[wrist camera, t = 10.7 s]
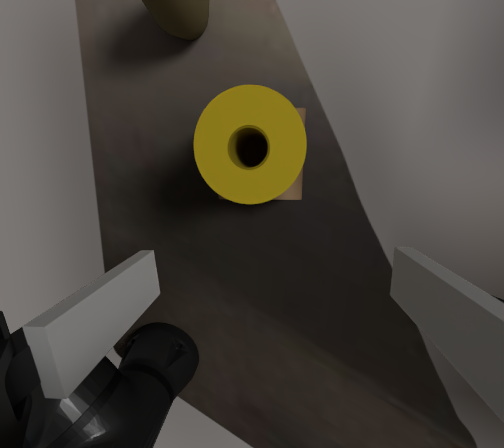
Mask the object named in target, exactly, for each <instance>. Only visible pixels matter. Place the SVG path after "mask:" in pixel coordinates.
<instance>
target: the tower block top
mask: <svg viewBox="0 0 504 448" xmlns="http://www.w3.org/2000/svg"><path fill="white" fill-rule="evenodd" d="M295 109H296V110H297V112H298V114H299V115H300V118H301V120H302V122H303V125H304V129H305V109H306V108H295ZM267 152H268V143H267V142H266V141H265V140H263V139H254V140H252V141H250V142H249V143H248V144H247V145H246V147H245V151H244V155H245V158H246V160H247V162H248V163H249V164H251V165H252V166H257V165H259V164H260V163H261V162H262V161H263V160H264V159H265V157H266V155H267ZM302 174H303V166H302V169H301V171H300V173H299V175H298V176H297V178H296V180H295V181H294V182H293V184H292V185H291V186H290V187H289V188H288V189H287V190H286V191H285V192H283V193H282V194H281V195H279V196H277V197H276V198H274V199H272V200H301V196H302ZM219 199H226V198H224V197H222V196H221V195H219Z"/></svg>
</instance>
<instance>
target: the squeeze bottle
mask: <svg viewBox="0 0 504 448" xmlns="http://www.w3.org/2000/svg"><path fill="white" fill-rule="evenodd" d="M142 1H143V3H144V4H145V6H146V7H147V9H148V10H149V12H150V13H151V15H152V16H153V18H154V19H155V21H156V22H157V24H158V25H159V27H160V28H162V29H163V30H164V31H165V32H167V33H168V34H169V35H173V36H176V37H179V38H182V39H186V40H192V39H196V38H198V37H199V36H200V35H202V34H203V32H204V30H205V29H206V27H207V23H208V17H209V0H142Z"/></svg>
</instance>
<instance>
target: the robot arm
mask: <svg viewBox="0 0 504 448" xmlns="http://www.w3.org/2000/svg"><path fill="white" fill-rule="evenodd" d="M159 294H160V288H159V282H158V276H157V269H156V263H155V257H154V250H144V251H139V252H138V253H136V254H135V255H133V256H132V257H130V258H128V259H127V260H125V261H124V262H122V263H121V264H119V265H117V266H116V267H114V268H113V269H111V270H110V271H108V272H107V273H105V274H103V275H102V276H100V277H99V278H97V279H96V280H94V281H93V282H91V283H89V284H88V285H86V286H85V287H83V288H81V289H80V290H78V291H77V292H75V293H74V294H72V295H71V296H69V297H67V298H66V299H65V300H63V301H61V302H60V303H58V304H56V305H55V306H53V307H52V308H50V309H49V310H47V311H46V312H44V313H42V314H41V315H40V316H38V317H36V318H34V319H33V320H31V321H30V322H28V323H27V324H25V325H24V326H22V327H21V328H20V329H18V330H16V331H15V332H13V333H12V334H10V332H9V329H8V326H7V323H6V320H5V317H4V314H3V312H2V311H0V448H153V446H154V444H155V442H156V439H157V437H158V435H159V432H160V430H161V428H162V426H163V423H164V421H165V419H166V416H167V414H168V412H169V409H170V407H171V405H172V403H173V400H174V399H175V398H176V397H177V396H178V395H179V393H180V392H181V391H182V390H183V389H184V387H185V386H186V385H187V384H188V383H189V382H190V381H191V379H192V378H193V376H194V374H195V371H196V369H197V366H198V363H199V353H198V349H197V347H196V345H195V343H194V341H193V340H192V339H191V338H190V336H189V335H187V334H186V333H185V332H184V331H182V330H181V329H179V328H177V327H175V326H173V325H170V324H165V323H152V324H148V325H145V326H143V327H142V328H140V329H139V330H138V331H137V332H136V333H135V334H134V336H133V337H132V338H131V339H130V341H129V342H128V344H127V347H126V349H125V352H124V355H123V357H122V360H121V363H120V365H119V368H118V369H117V368H116V366H115V365H114V364H113V363H112V362H111V361H110V360H109V359H108V358H107V357H106V356H105V355H106V354H107V353H108V352H109V351H110V349H111V348H112V347H113V346H114V345H115V344H116V343H117V342H118V340H119V339H120V338H121V337H122V336H123V335H124V334H125V333H126V331H127V330H128V329H129V328H130V327H131V326H132V325H133V324H134V322H135V321H136V320H137V319H138V318H139V317H140V316H141V315H142V314H143V312H144V311H145V310H146V309H147V308H148V307H149V306H150V305H151V303H152V302H153V301H154V300H155V299H156V298H157V297H158V296H159ZM390 295H391V297H392V298H393V299H394V300H395V301H396V302H397V303H398V304H399V306H400V307H401V308H402V309H403V310H404V311H405V312H406V313H407V315H408V316H409V317H410V318H411V319H412V320H413V321H414V323H415V324H416V325H417V326H418V327H419V328H420V329H421V330H422V332H424V334H425V335H426V336H427V337H428V338H429V339H430V340H431V342H432V343H433V344H434V345H435V346H436V347H437V348H438V350H439V351H440V352H441V353H442V354H443V355H444V356H445V357H446V358H447V360H448V361H449V362H450V363H451V364H452V365H453V366H454V368H455V369H456V370H457V371H458V372H459V373H460V374H461V375H462V377H463V378H464V379H465V380H466V381H467V382H468V383H469V385H470V386H471V387H472V388H473V389H474V390H475V391H476V392H477V394H478V395H479V396H480V397H481V398H482V399H483V400H484V402H485V403H486V404H487V405H488V406H489V407H490V408H491V409H492V410H493V412H494V413H495V414H496V415H497V416H498V417H499V418H500V420H501V421H502V422H503V423H504V300H502V299H500V298H497V297H495V296H492V295H490V294H488V293H486V292H485V291H483V290H481V289H480V288H478V287H476V286H475V285H473V284H471V283H470V282H468V281H466V280H465V279H463V278H461V277H460V276H458V275H456V274H455V273H453V272H451V271H450V270H448V269H447V268H445V267H443V266H442V265H440V264H438V263H437V262H435V261H433V260H432V259H430V258H428V257H426V256H425V255H423V254H422V253H420V252H418V251H417V250H415V249H413V248H412V247H395V252H394V261H393V271H392V281H391V291H390Z"/></svg>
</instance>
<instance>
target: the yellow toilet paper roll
mask: <svg viewBox="0 0 504 448" xmlns="http://www.w3.org/2000/svg"><path fill="white" fill-rule="evenodd" d="M254 139H263V140H265V141H266V142H267V143H268V152H267V155H266V157H265V159H264V160H263V161H262V162H261V163H260V164H259V165H257V166H252V165H251V164H249V163H248V162H247V160H246V158H245V155H244V151H245V147H246V145H247V144H248V143H249V142H250V141H252V140H254ZM194 155H195V160H196V163H197V166H198V169H199V171H200V173H201V175H202V177H203V178H204V180H205V181H206V183H207V184H208V185H209V186H210V187H211V188H212V189H213V190H214V191H215V192H216V193H218V194H219V195H221V196H222V197H224V198H226V199H228V200H230V201H233V202H237V203H242V204H258V203H263V202H266V201H269V200H272V199H274V198H276V197H277V196H279V195H281V194H282V193H283V192H285V191H286V190H287V189H288V188H289V187H290V186H291V185H292V184H293V182H294V181H295V180H296V178H297V176H298V175H299V173H300V171H301V169H302V166H303V163H304V160H305V155H306V133H305V129H304V125H303V122H302V120H301V118H300V115H299V114H298V112H297V110H296V109H295V107H294V106H293V105H292V104H291V103H290V102H289V101H288V100H287V99H286V98H285V97H284V96H283V95H281V94H280V93H278V92H276V91H274V90H272V89H270V88H267V87H264V86H259V85H242V86H237V87H234V88H231V89H228V90H226V91H224V92H223V93H221V94H220V95H218V96H217V97H216V98H214V99H213V100H212V101H211V102H210V103H209V104H208V106H207V107H206V108H205V110H204V111H203V113H202V114H201V116H200V118H199V121H198V123H197V126H196V130H195V135H194Z"/></svg>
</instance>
